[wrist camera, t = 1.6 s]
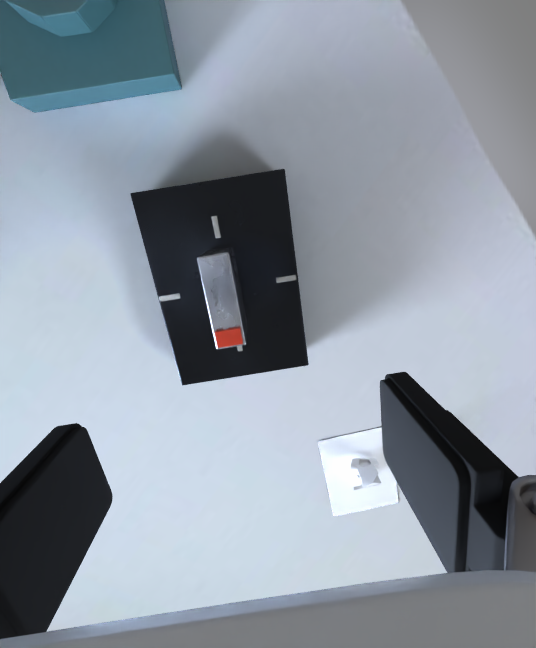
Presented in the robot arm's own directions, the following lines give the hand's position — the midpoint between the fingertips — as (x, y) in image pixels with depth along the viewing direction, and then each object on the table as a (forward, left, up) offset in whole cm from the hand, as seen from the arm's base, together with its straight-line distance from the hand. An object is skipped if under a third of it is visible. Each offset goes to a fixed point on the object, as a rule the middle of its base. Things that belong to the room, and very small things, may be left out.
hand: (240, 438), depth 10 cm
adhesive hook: (+14, -15, -17) cm, 27 cm away
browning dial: (-2, +2, -13) cm, 14 cm away
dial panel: (-2, +2, -17) cm, 17 cm away
